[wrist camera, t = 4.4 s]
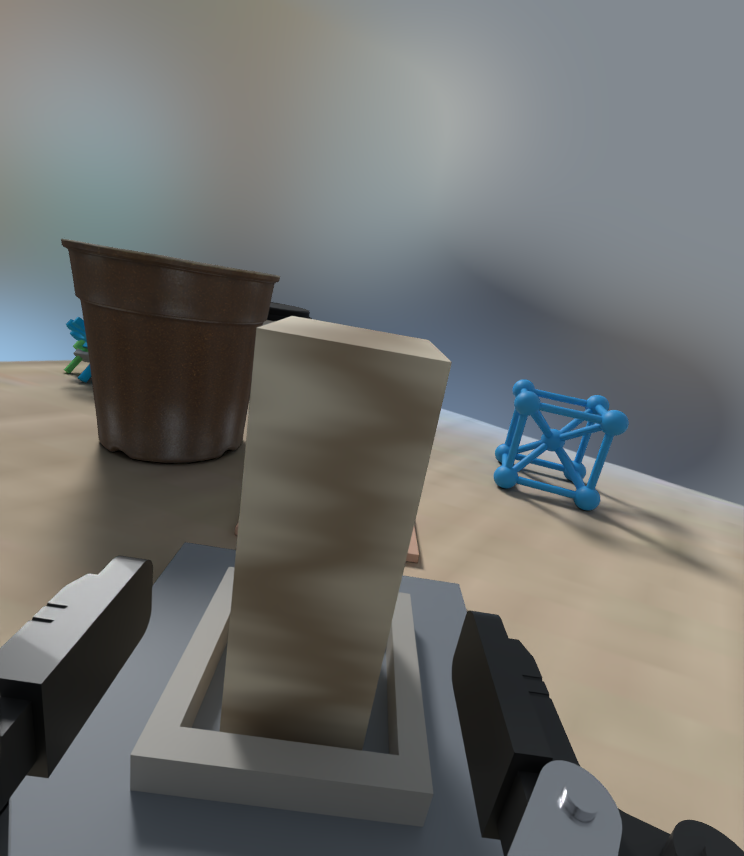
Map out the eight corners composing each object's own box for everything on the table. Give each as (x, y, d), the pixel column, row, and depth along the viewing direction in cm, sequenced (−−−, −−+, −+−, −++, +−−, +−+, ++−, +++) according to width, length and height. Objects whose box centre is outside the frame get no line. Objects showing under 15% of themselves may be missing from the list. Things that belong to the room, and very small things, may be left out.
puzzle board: (-108, 969, 10) (-128, 902, 9) (184, 557, 25) (186, 519, 24) (569, 1039, 11) (603, 982, 10) (454, 597, 26) (464, 562, 25)
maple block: (219, 734, 15) (256, 327, 11) (256, 627, 20) (292, 315, 16) (361, 753, 15) (451, 362, 11) (364, 643, 20) (428, 340, 16)
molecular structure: (490, 488, 43) (518, 390, 40) (492, 457, 52) (515, 375, 49) (598, 517, 41) (635, 416, 38) (580, 479, 50) (609, 396, 47)
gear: (166, 374, 56) (104, 314, 48) (137, 411, 53) (66, 354, 46) (117, 365, 61) (54, 311, 53) (88, 399, 59) (18, 346, 51)
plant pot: (66, 412, 42) (58, 234, 38) (231, 410, 52) (243, 267, 47) (73, 487, 30) (64, 237, 25) (289, 466, 40) (312, 281, 35)
